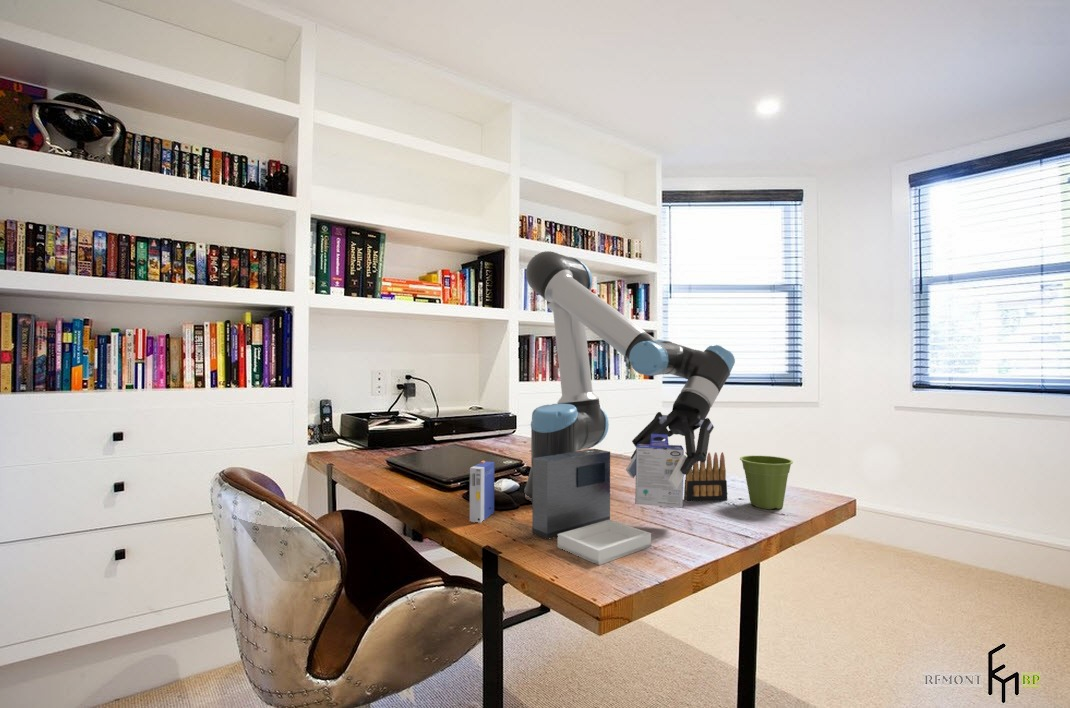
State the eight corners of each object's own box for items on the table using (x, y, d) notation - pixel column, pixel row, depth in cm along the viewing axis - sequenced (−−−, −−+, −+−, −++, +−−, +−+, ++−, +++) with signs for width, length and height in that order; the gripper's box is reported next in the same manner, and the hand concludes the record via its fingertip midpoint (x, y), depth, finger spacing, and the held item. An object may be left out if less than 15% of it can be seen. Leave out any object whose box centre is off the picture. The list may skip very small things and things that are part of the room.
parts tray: (557, 547, 95) (557, 534, 95) (609, 531, 104) (609, 519, 104) (598, 565, 87) (598, 550, 87) (651, 546, 96) (651, 533, 96)
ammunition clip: (724, 498, 130) (724, 451, 130) (727, 500, 128) (727, 452, 128) (683, 499, 129) (683, 452, 129) (686, 501, 127) (686, 453, 127)
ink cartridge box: (681, 501, 110) (683, 434, 110) (684, 508, 105) (685, 438, 105) (635, 498, 112) (636, 432, 112) (635, 505, 107) (636, 435, 107)
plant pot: (786, 500, 128) (786, 455, 128) (799, 514, 117) (799, 465, 117) (736, 497, 131) (736, 453, 131) (744, 510, 119) (744, 462, 119)
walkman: (483, 511, 118) (483, 459, 118) (494, 512, 117) (494, 460, 117) (468, 522, 110) (468, 466, 110) (480, 523, 109) (480, 467, 110)
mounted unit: (530, 532, 103) (531, 457, 104) (593, 516, 115) (593, 448, 115) (548, 540, 99) (548, 462, 99) (611, 522, 111) (611, 451, 111)
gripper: (748, 417, 109) (706, 502, 99) (660, 407, 127) (617, 478, 117) (736, 393, 106) (690, 479, 96) (647, 386, 124) (601, 458, 114)
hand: (650, 479), depth 106 cm, fingers closed on ink cartridge box, 10 cm apart
